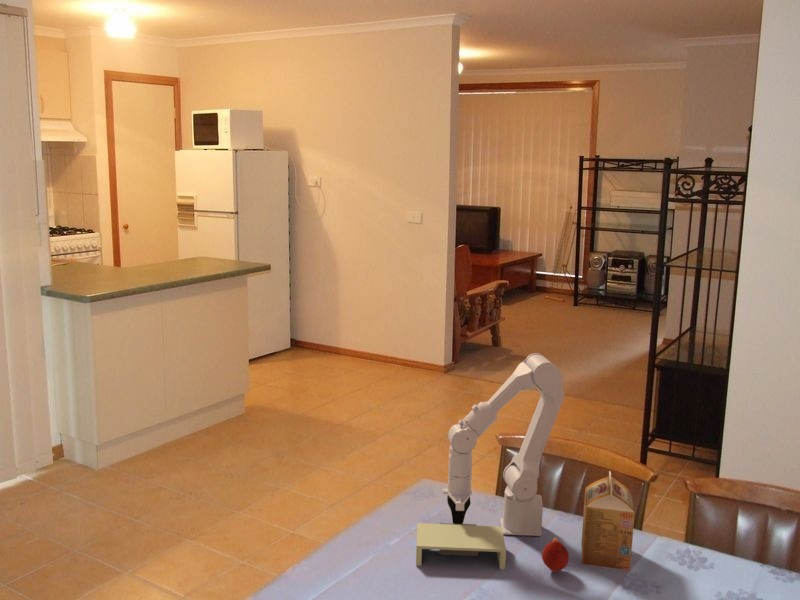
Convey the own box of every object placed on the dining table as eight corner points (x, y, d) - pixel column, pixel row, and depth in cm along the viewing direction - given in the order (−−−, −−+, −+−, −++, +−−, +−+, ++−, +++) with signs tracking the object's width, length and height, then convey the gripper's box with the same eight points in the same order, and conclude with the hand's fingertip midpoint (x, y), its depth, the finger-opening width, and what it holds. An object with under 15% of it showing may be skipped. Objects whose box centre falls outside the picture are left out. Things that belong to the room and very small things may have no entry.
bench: (500, 545, 183) (501, 526, 182) (505, 569, 172) (506, 549, 171) (416, 541, 183) (417, 523, 182) (415, 565, 172) (416, 545, 172)
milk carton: (629, 570, 173) (636, 491, 169) (581, 564, 175) (587, 486, 171) (626, 548, 183) (633, 473, 179) (581, 542, 185) (586, 468, 182)
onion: (569, 567, 173) (571, 535, 172) (565, 580, 168) (568, 546, 166) (543, 562, 175) (545, 530, 174) (539, 575, 170) (541, 542, 168)
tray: (475, 534, 188) (476, 522, 188) (478, 556, 177) (479, 544, 177) (439, 532, 189) (439, 521, 188) (439, 555, 178) (440, 543, 177)
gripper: (443, 461, 194) (441, 511, 196) (443, 485, 180) (441, 538, 182) (470, 462, 194) (468, 512, 196) (474, 486, 179) (471, 540, 182)
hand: (457, 525), depth 189 cm, fingers closed
